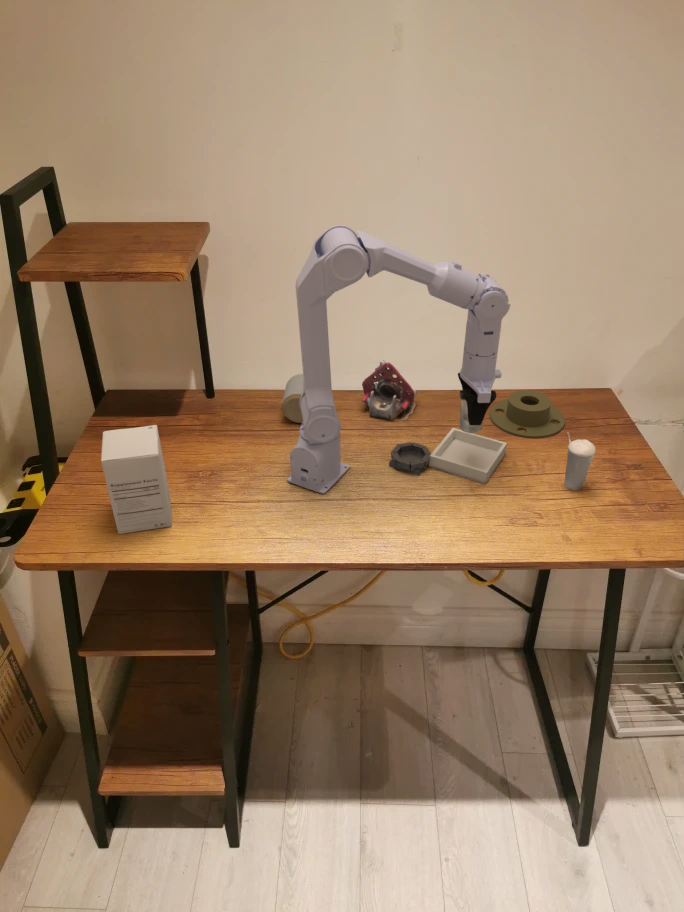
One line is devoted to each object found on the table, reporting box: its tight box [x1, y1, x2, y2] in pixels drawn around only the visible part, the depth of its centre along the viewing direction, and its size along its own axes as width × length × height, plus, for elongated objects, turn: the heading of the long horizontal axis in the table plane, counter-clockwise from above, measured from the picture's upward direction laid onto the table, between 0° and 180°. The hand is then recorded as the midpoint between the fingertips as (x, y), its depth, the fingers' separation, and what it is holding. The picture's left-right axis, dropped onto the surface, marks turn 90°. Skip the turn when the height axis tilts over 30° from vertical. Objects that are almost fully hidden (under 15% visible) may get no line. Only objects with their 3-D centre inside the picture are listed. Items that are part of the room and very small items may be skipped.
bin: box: [428, 427, 508, 485], centre depth 135 cm, size 11×11×2 cm
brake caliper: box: [361, 359, 418, 421], centre depth 150 cm, size 11×11×12 cm
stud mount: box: [388, 441, 432, 476], centre depth 134 cm, size 7×7×2 cm
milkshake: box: [563, 431, 596, 492], centre depth 126 cm, size 5×5×10 cm
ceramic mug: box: [281, 373, 304, 424], centre depth 147 cm, size 11×8×8 cm
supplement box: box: [100, 424, 173, 535], centre depth 118 cm, size 9×9×15 cm
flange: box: [489, 389, 566, 439], centre depth 147 cm, size 5×15×15 cm
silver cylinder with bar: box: [459, 390, 483, 434], centre depth 129 cm, size 4×4×7 cm
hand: (472, 417), depth 130 cm, fingers closed on silver cylinder with bar, 4 cm apart
